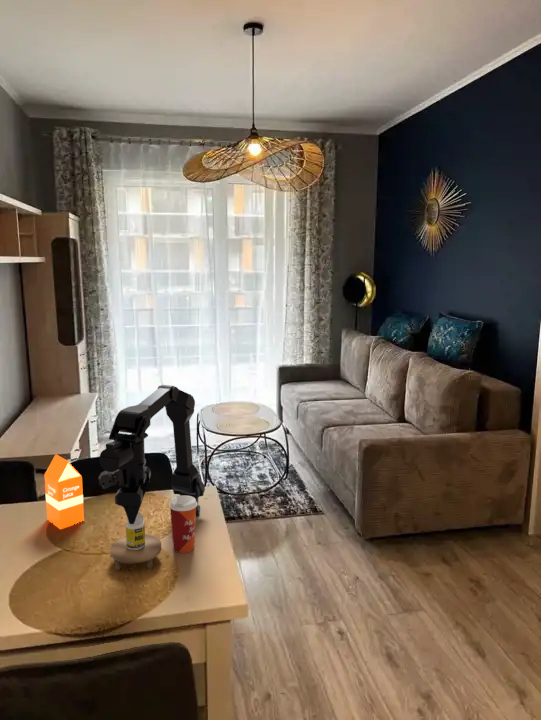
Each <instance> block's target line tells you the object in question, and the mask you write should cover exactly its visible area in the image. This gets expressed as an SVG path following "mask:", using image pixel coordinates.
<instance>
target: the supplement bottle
mask: <svg viewBox="0 0 541 720" xmlns="http://www.w3.org/2000/svg"><path fill="white" fill-rule="evenodd" d="M126 518H127V517H126ZM126 521H127V523H126V525H125V534H126V535H125V537H126V542H127V548H128V549H130V550H138V549H141V548H143V547H144V546H145V534H146V532H145V531H146V528H145V526H146V525H145V521H144V515H143V514H142V513H140V512H138V514H137V517H136V520H135V522H134V524H129V521H128V518H127V519H126Z"/></svg>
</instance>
